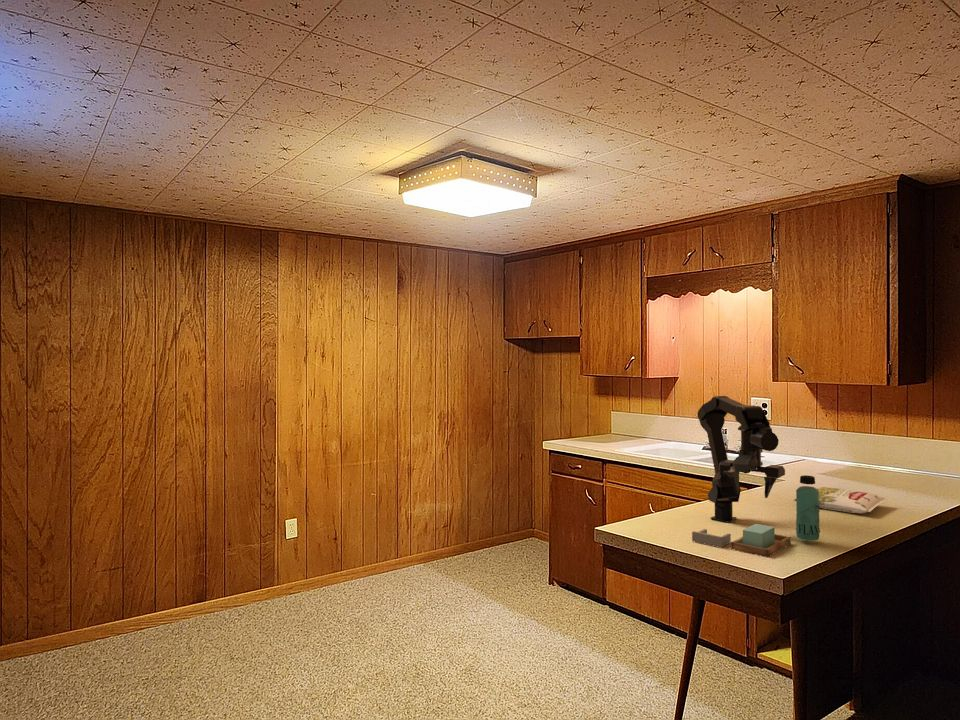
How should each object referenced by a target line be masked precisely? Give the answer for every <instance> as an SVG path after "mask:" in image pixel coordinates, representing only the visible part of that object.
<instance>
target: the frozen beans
mask: <svg viewBox="0 0 960 720" xmlns="http://www.w3.org/2000/svg"><path fill="white" fill-rule="evenodd" d="M815 488H816V487H815ZM816 489H817V490H818V491H819V506H820V507H819V509H824V510H830V511H837V512H844V513H852V514H866V513H867V512H869V513H870V512H872V511H873V510H874V509H875V508H876V507H878V506H879V505H880V504H881V503H883V502H885V501H886V500H887V498H885V497H882V496H880V495H879V496H878V495H877V494H872V493H869V492H865V491H858V490H851V489H845V488H834V487H825V486H822V487H818V488H816ZM792 501H793V502H794V501H795V502H796V498H794V499H793V500H792Z"/></svg>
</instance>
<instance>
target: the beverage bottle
mask: <svg viewBox="0 0 960 720" xmlns="http://www.w3.org/2000/svg"><path fill="white" fill-rule="evenodd" d="M815 478H816V477H815V476H813V475H800V477H799V483H800V484H801V485H800V486H799V487H797V489H795V492H796V494H795V495H796V497H795V499H796V501H795V502H796V505H795V506H796V507H795V508H796V513H795V517H796V518H795V535H796V538H798V539H800V540H803V541H810V542H811V541H812V542H813V541H818V540H820V537H821V536H820V535H821V534H820V533H821V530H820V509H821V508H819V507H820V506H819V491H818V490H817V489H816V487H814V486H810V485H815V484H816V479H815ZM808 485H809V486H808Z"/></svg>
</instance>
